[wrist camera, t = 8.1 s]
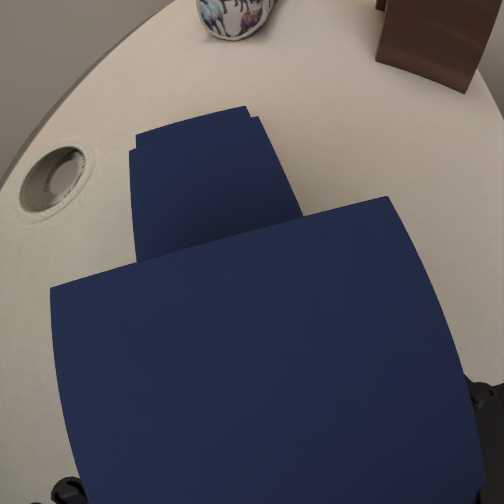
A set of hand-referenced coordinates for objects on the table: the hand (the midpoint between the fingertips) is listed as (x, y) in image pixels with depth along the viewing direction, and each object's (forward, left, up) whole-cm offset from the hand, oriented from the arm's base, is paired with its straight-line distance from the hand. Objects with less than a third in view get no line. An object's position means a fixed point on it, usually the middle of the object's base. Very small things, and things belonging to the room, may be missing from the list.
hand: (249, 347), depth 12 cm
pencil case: (+25, -37, -5) cm, 45 cm away
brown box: (+3, -48, -5) cm, 48 cm away
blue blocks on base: (+2, -2, -5) cm, 6 cm away
